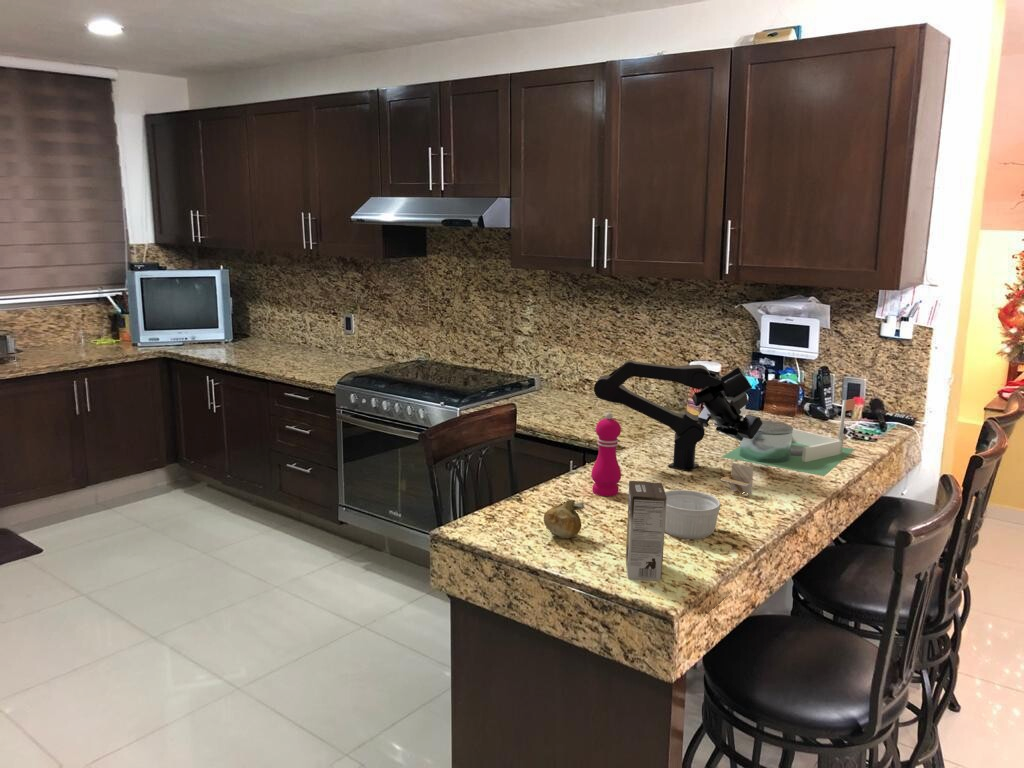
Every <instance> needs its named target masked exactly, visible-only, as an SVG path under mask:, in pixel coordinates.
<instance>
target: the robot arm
mask: <svg viewBox="0 0 1024 768" xmlns="http://www.w3.org/2000/svg"><path fill="white" fill-rule="evenodd" d="M632 377H635V378H643V379H644V378H645V379H652V380H660V381H669V382H675V383H678V384H681V385H682V386H685V387H688V388H692V389H696V390H700V391H698V392H697V391H695V392H694V393H693V395H692V397H691V399H692V401H693V403H694V406H696V407H698V406H700V405H701V404H703V406H704V407H703V409H701V411H700V413H699V414H698V415H697V414H692V413H691V412H689V411H688V410H686V409H684V410H683V413H679V412H678V413H677V412H675V411H673V410H671V409H668V408H666V407H664V406H662V405H660V404H657V403H656V402H654V401H652V400H649V399H648V398H646V397H644V396H641V395H640V394H638V393H636V392H633V391H631V390H629V388H627V387H626V386H625V385H623V384H624V383H625V382H627V381H628V379H630V378H632ZM752 389H753V386H752V385H751V383H750V381H749V380H748V378H747V377H746V375H745V374H744V373H743V372H742V370H741V368H740V367H739V366H736V367H734V368H733V369H731V370H730V371H729V372H727V373H725V374H723V375H719V374H718V373H717V374H716V373H715V372H711V371H710V370H709V369H708V367H706V366H705V365H703V364H687V365H677V366H676V365H675V366H674V365H667V364H659V363H658V364H657V363H650V362H641V361H634V360H631V359H630V360H629V359H628V360H626V361H625V362H624V363H622V365H620V366H619V367H617V368H616V369H615V370H614V371H611V373H609V374H605V375H601V376H600V377H598V378H597V380H596V381H595V384H594V386H593V393H594V395H595V396H596V397H597V398H598V399H600V400H602V401H606V402H609V403H613V404H620V405H624V406H626V407H627V408H630V409H632V410H634V411H636V412H638V413H639V414H643V415H644V416H647V417H649V418H650V419H652V420H654V421H656V422H658V423H660V424H663V425H665V426H667V427H668V428H670V429H671V430H672V431H674V432H675V433H674V445H673V458H672V463H669V464H668V465H667V467H668V468H672V469H677V470H682V471H687V472H691V471H693V470H695V469H696V468H698V467H699V466H700V464H698V463H695V461H696V460H695V459H696V446H697V443H699V442H701V441H702V440H703V439H704V437H705V433H706V431H705V428H708V427H709V425H710V423H709V421H710V420H713V422H712V423H713V425H714V426H716V428H715V430H716V431H717V432H718V433H719V432H721V433H724V434H726V435H725V436H729V437H731V438H733V439H735V440H737V441H739V442H740V441H742V440H743V437H744V438H747V439H752V438H753V437H754V436H755V434H756V433H757V431H758V430H759V428H760V427H761V425H762V424H763V423H762V420H763V419H761V417H760V416H756V415H752V414H747V415H745V416H741V415H740V413H741V411H740V409H741V408H742V407H744V406H745V405H746V406H747V405H748V404H749V398H748V396H747V395H748V394H747V392H748V391H749V390H752ZM746 406H745V407H746Z"/></svg>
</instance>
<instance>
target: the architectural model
mask: <svg viewBox="0 0 1024 768" xmlns="http://www.w3.org/2000/svg"><path fill="white" fill-rule="evenodd" d="M731 464H732V465H731V472H730V474H729V476H727V475H726V476H724V477H721V478H720V481H723V482H727V483H730V486H729V490H730V491H734V490H735V491H734V492H738V493H739V494H740V495H743V494H742V493H743V492H745V493H744V494H746V493H748V494H747V496H748V495H750V496H752V495H751V494H753V485H754V484H753V482H754V481H753V477H754V466H748V465H744V464H741V463H736V462H732V463H731Z"/></svg>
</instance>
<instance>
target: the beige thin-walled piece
mask: <svg viewBox="0 0 1024 768" xmlns="http://www.w3.org/2000/svg"><path fill="white" fill-rule="evenodd" d="M855 404H856V398H850V399H842V406H841V415H840V423H839V424H840V425H839V434H838V438H835V437H830V436H826V435H822V434H818V433H814V432H811V431H810V432H809V431H806V430H802V429H798V428H794V427H793V432H792V442H795V443H799V444H803V445H807V446H809V447H803V446H798V445H791V453H790V455H791V456H802V462H808V461H812V460H817V459H821V458H826V457H830V456H834V455H839V454H842V447H844V446H843V444H844V439H843V438H844V430H845V429H844V428H845V419H846V412H848V411H854V410H855Z"/></svg>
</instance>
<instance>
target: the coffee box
mask: <svg viewBox="0 0 1024 768" xmlns="http://www.w3.org/2000/svg"><path fill="white" fill-rule="evenodd" d="M665 492H666V491H665V489H664V485H663V482H652V481H643V480H629V481H628V500H627V502H628V503H627V519H626V521H627V523H626V542H625V543H626V544H625V548H626V549H625V564H626V566H625V567H626V573H627V579H628V580H640V581H656V582H661V581H662V576H663V574H662V573H663V572H662V571H663V560H664V546H665V533H666V532H665V519H666V503H667V497H666V494H665Z"/></svg>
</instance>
